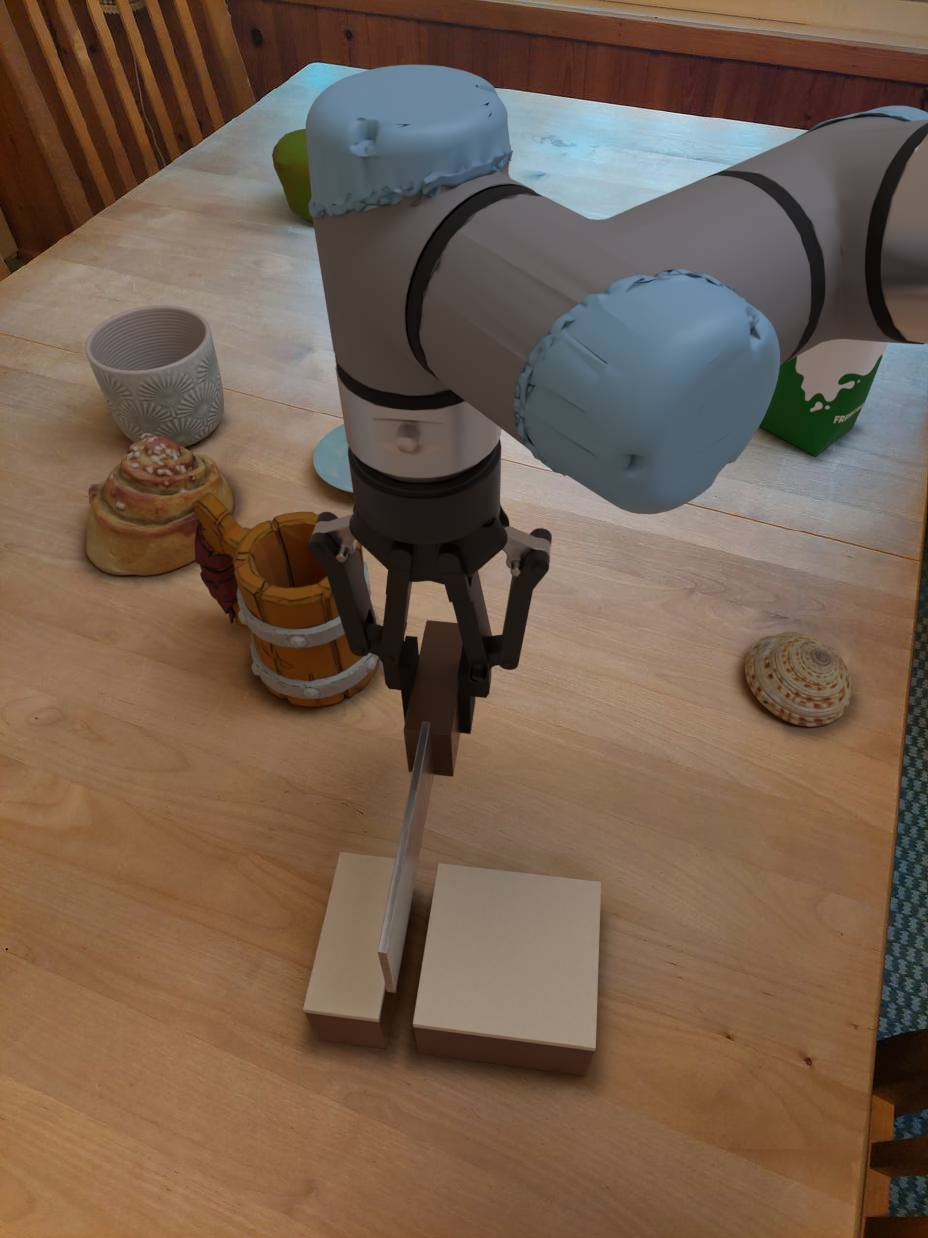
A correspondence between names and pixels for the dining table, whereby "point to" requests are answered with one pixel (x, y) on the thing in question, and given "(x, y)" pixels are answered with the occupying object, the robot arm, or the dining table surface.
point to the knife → (422, 774)
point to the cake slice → (353, 957)
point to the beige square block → (510, 970)
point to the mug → (281, 603)
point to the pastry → (151, 508)
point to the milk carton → (822, 392)
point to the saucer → (334, 459)
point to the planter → (158, 373)
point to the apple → (294, 171)
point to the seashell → (798, 678)
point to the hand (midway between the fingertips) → (440, 713)
